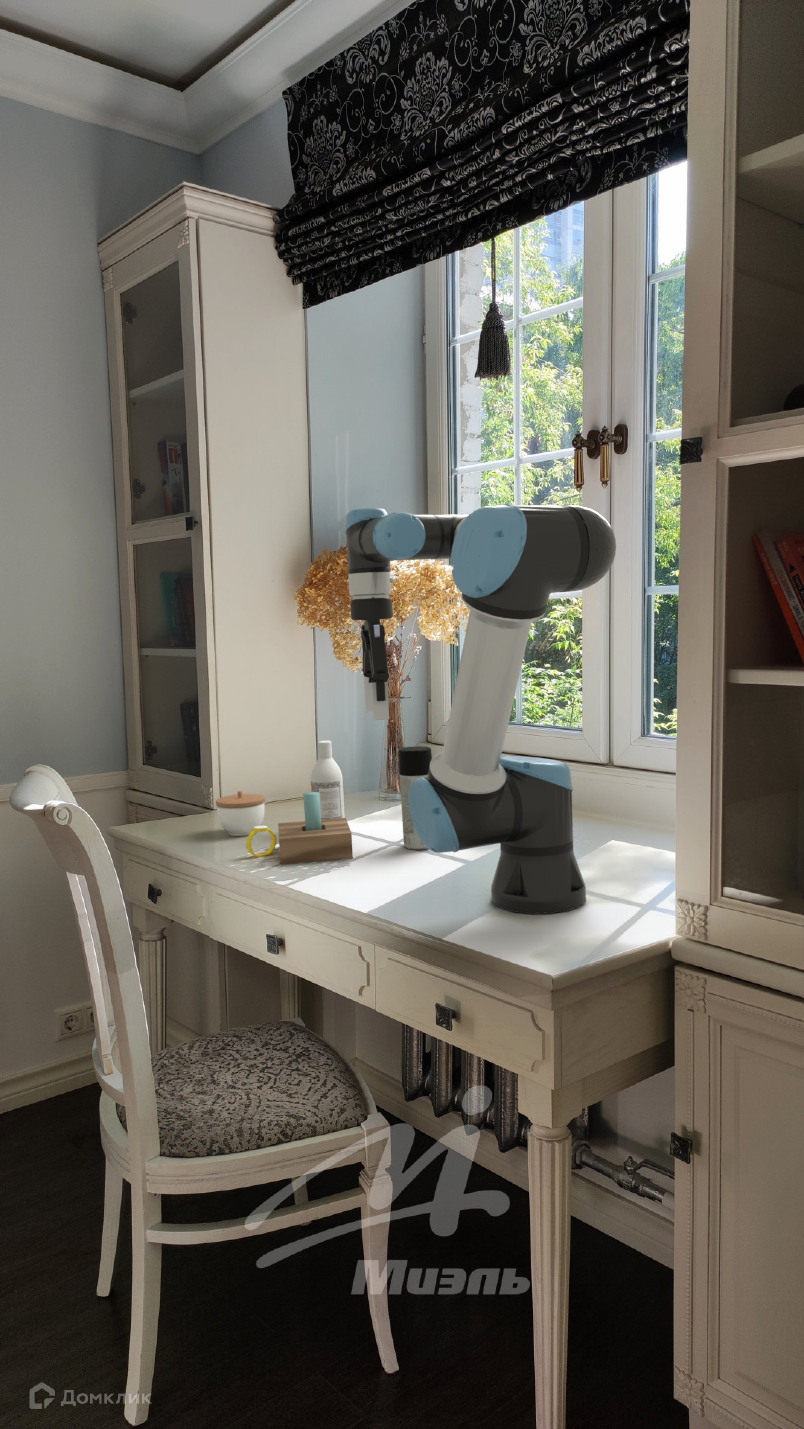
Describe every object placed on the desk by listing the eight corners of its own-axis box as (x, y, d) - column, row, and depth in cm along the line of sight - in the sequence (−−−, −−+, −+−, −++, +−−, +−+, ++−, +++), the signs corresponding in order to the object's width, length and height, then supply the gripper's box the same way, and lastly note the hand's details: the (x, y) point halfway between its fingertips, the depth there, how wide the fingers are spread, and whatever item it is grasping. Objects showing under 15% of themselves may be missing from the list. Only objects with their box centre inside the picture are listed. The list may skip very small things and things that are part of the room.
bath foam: (321, 827, 216) (315, 739, 214) (350, 828, 214) (345, 739, 211) (308, 835, 209) (303, 743, 207) (338, 836, 207) (333, 743, 205)
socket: (352, 858, 188) (351, 832, 188) (280, 864, 186) (278, 838, 186) (347, 841, 202) (345, 817, 201) (279, 846, 200) (278, 823, 200)
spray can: (433, 850, 191) (429, 750, 189) (400, 850, 192) (395, 751, 190) (439, 842, 197) (434, 745, 195) (406, 842, 199) (402, 746, 197)
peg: (307, 855, 192) (303, 795, 191) (306, 851, 195) (303, 792, 194) (323, 853, 193) (319, 794, 191) (322, 849, 196) (319, 791, 195)
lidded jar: (209, 837, 212) (206, 795, 211) (232, 826, 222) (230, 786, 221) (253, 839, 208) (250, 796, 207) (275, 827, 218) (272, 786, 217)
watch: (271, 853, 197) (271, 824, 196) (278, 855, 194) (278, 826, 194) (244, 856, 193) (244, 827, 193) (251, 859, 191) (251, 829, 190)
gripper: (401, 595, 161) (407, 721, 163) (383, 597, 185) (389, 707, 188) (356, 597, 160) (363, 724, 162) (344, 599, 184) (350, 710, 187)
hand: (377, 715), depth 175 cm, fingers open, 13 cm apart
